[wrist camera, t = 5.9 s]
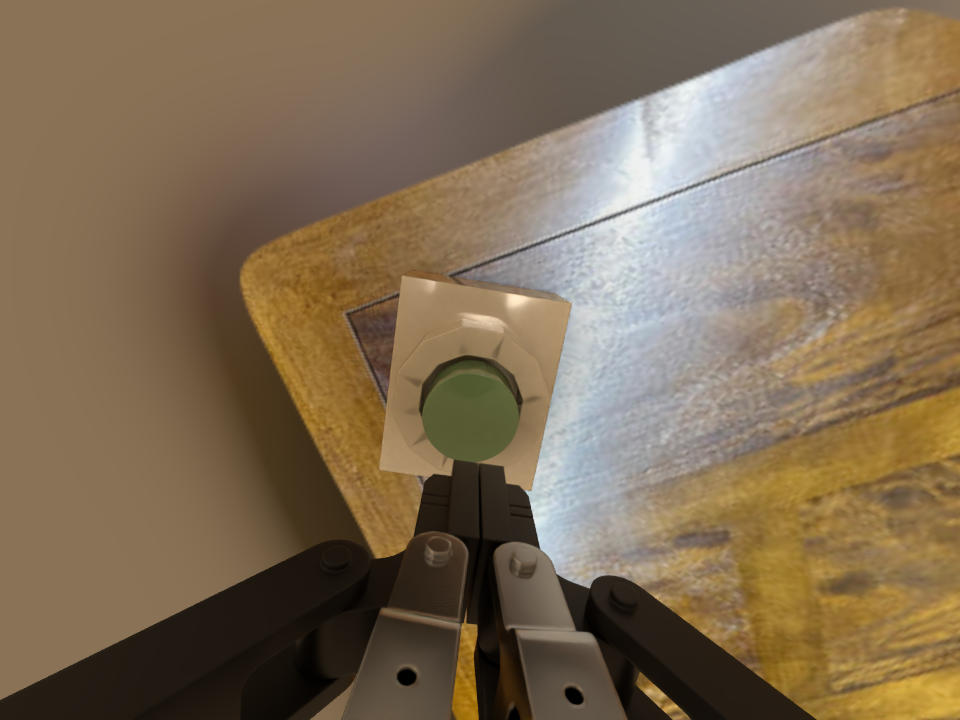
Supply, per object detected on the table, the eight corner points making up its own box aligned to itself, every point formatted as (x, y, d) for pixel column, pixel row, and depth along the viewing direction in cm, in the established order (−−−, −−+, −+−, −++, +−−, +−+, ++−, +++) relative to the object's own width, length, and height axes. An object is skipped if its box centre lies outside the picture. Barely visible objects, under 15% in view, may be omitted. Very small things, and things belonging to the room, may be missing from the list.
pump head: (433, 353, 20) (428, 365, 18) (522, 366, 20) (527, 380, 18) (421, 435, 21) (416, 456, 19) (506, 447, 21) (509, 469, 19)
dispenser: (412, 269, 24) (394, 278, 18) (556, 293, 25) (582, 309, 19) (392, 437, 27) (370, 491, 21) (523, 455, 27) (536, 514, 21)
